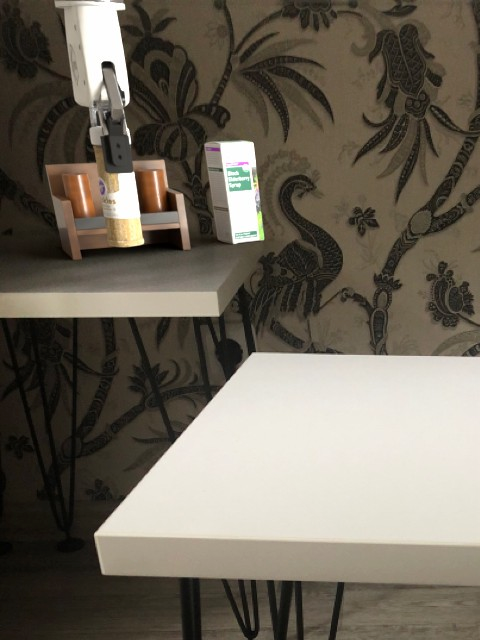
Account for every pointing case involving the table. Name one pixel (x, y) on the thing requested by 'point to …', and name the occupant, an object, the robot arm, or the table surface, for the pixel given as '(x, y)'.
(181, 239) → the spice rack
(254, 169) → the syrup box
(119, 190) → the sprinkles bottle
